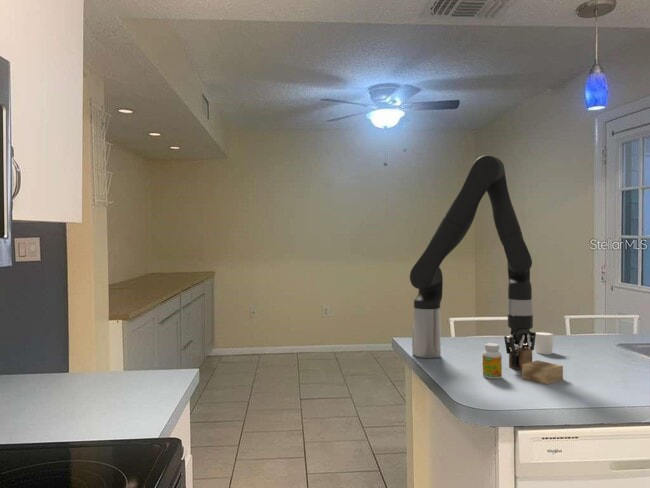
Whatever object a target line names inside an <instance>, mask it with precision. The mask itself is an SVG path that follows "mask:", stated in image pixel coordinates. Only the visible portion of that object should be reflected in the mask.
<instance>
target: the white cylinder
mask: <svg viewBox="0 0 650 488" xmlns="http://www.w3.org/2000/svg"><path fill="white" fill-rule="evenodd" d="M534 332H535V331H534ZM535 333H536V337H535V345H534V352H535V353H536V354H538V353H539V355H552V354H553V347H554V346H553V345H554V337H555V336H554V335H555V334H554V333H551V332H546V331H537V332H535Z"/></svg>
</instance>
